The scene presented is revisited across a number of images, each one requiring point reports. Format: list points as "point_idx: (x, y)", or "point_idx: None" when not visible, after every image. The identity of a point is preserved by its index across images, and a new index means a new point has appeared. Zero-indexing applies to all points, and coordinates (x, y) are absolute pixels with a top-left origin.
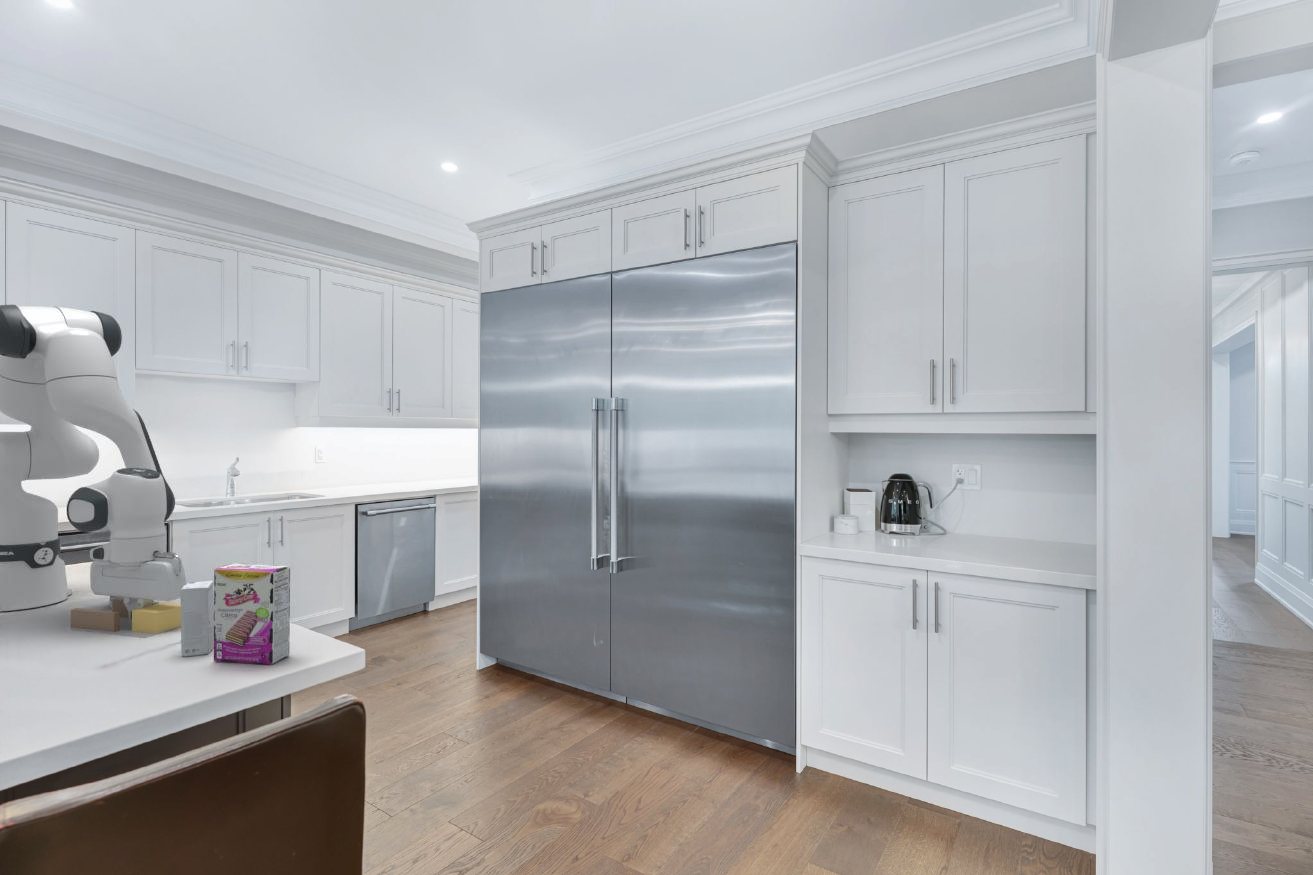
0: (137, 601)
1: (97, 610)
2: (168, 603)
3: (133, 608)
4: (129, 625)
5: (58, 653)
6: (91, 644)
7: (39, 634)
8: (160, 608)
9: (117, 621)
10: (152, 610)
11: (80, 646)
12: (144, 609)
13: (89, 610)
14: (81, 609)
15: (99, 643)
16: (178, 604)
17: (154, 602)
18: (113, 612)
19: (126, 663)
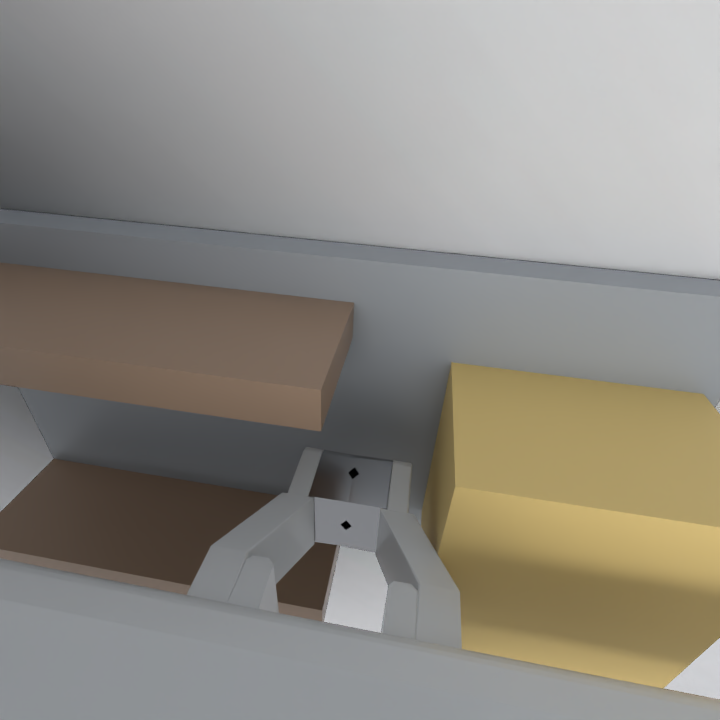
0: (257, 542)
1: (142, 577)
2: (560, 510)
3: (303, 540)
4: (307, 440)
5: (342, 621)
6: (354, 564)
7: (13, 482)
8: (608, 619)
9: (334, 562)
10: (582, 652)
11: (337, 578)
12: (491, 633)
13: (102, 577)
14: (35, 563)
15: (374, 556)
16: (717, 538)
17: (286, 400)
18: (285, 608)
19: (685, 692)
